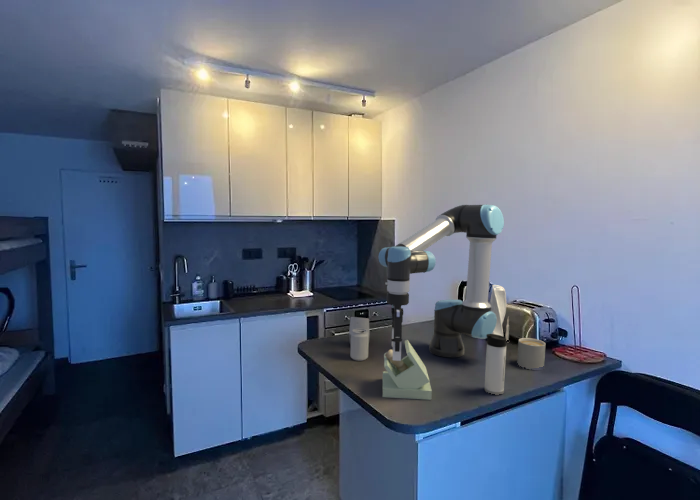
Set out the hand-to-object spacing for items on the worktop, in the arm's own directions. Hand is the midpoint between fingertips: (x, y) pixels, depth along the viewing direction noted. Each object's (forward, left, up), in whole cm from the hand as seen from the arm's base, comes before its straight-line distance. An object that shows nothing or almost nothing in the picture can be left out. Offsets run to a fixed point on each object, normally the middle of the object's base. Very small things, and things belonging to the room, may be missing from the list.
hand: (395, 353), depth 136 cm
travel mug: (-34, -2, -13) cm, 36 cm away
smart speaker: (+15, -43, -13) cm, 47 cm away
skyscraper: (-51, -59, -13) cm, 79 cm away
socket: (-4, 0, -13) cm, 13 cm away
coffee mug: (-57, -29, -13) cm, 65 cm away
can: (+14, -27, -13) cm, 33 cm away
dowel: (-6, 0, -9) cm, 10 cm away
